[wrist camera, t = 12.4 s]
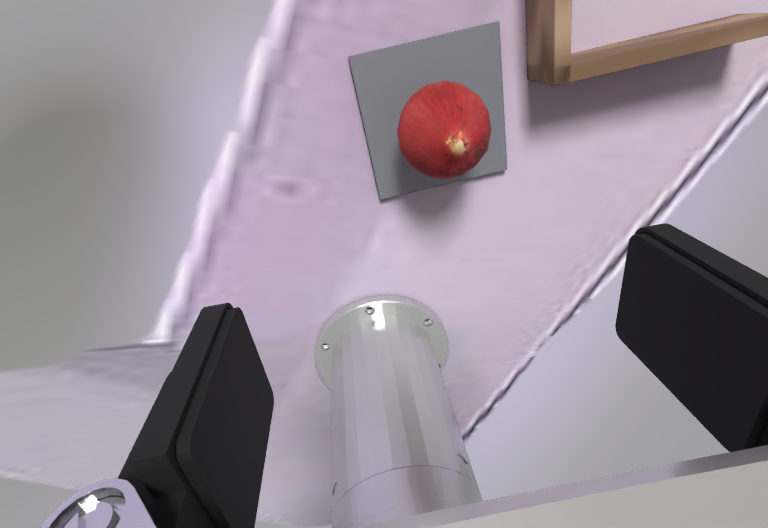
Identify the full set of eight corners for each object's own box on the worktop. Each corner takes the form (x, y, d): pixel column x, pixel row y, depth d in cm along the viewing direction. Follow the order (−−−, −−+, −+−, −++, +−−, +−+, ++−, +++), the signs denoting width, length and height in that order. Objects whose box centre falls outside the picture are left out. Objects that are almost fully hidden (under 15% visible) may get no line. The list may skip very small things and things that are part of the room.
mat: (504, 167, 32) (507, 169, 32) (379, 197, 32) (380, 199, 32) (496, 21, 27) (499, 21, 27) (348, 56, 27) (348, 57, 27)
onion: (487, 107, 29) (536, 130, 22) (439, 175, 31) (470, 216, 24) (421, 58, 27) (452, 67, 20) (375, 134, 29) (389, 166, 22)
